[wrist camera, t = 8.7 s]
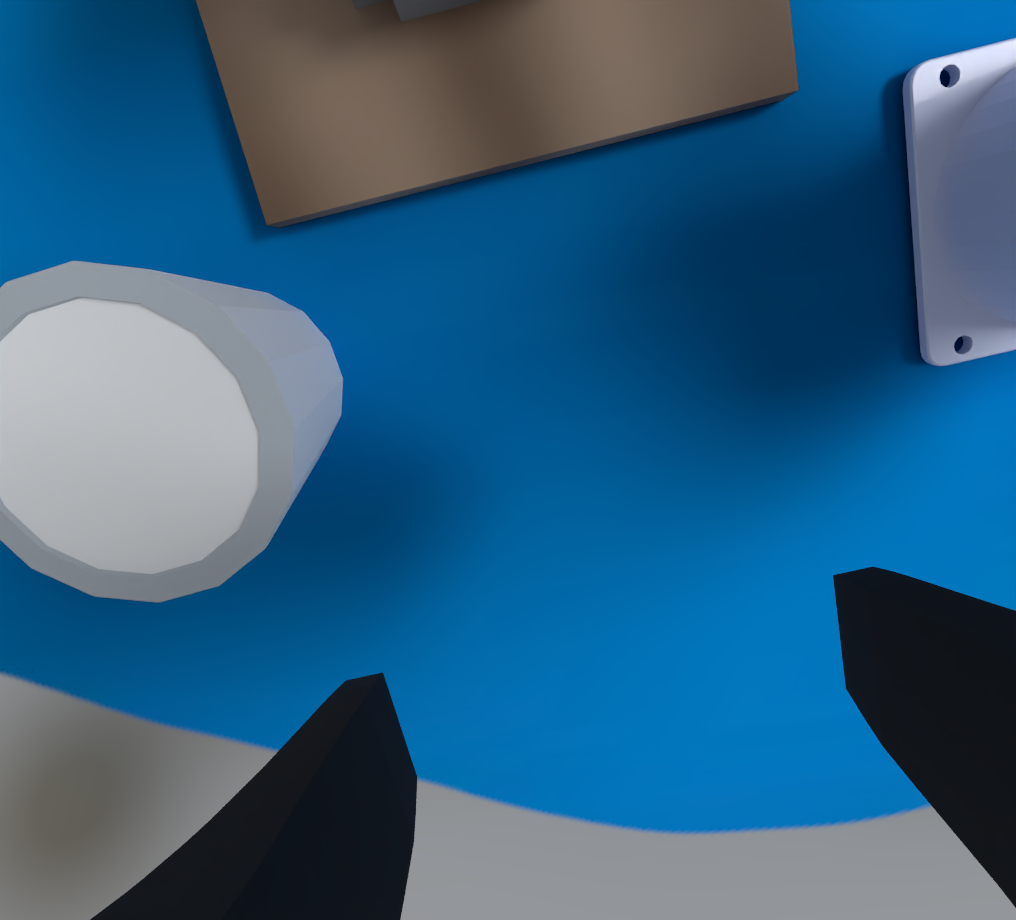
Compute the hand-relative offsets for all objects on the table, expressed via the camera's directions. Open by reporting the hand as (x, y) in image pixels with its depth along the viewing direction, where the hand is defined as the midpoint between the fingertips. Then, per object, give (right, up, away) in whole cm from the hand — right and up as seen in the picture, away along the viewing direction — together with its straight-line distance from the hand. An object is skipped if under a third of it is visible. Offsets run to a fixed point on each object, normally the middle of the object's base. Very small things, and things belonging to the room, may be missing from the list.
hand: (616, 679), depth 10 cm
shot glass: (-9, +6, +9) cm, 14 cm away
